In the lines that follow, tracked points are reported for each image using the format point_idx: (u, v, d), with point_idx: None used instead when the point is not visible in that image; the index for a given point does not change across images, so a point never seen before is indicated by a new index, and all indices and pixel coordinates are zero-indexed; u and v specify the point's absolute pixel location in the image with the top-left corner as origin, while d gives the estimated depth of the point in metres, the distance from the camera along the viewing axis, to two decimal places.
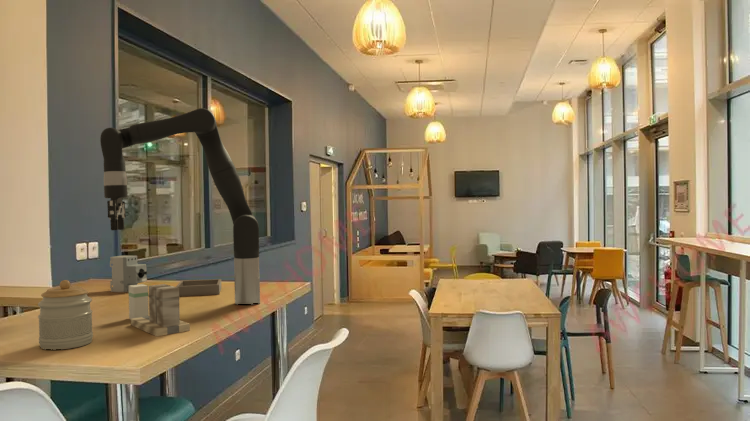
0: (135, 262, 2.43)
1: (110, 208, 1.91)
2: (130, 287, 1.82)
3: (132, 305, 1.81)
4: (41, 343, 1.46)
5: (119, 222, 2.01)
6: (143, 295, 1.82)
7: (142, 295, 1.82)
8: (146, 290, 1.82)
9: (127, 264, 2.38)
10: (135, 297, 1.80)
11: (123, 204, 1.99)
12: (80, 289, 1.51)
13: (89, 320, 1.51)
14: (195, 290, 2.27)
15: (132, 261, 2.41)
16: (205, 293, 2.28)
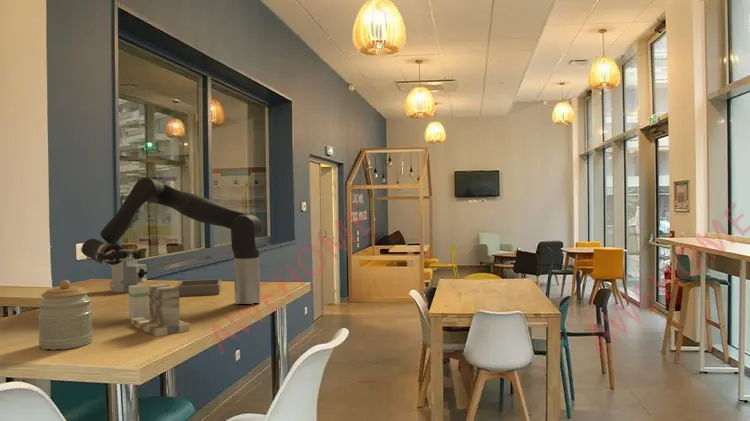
0: (135, 262, 2.43)
1: (97, 257, 1.92)
2: (130, 287, 1.82)
3: (132, 305, 1.81)
4: (41, 343, 1.46)
5: (134, 256, 1.96)
6: (143, 296, 1.82)
7: (142, 295, 1.82)
8: (146, 290, 1.83)
9: (127, 264, 2.38)
10: (135, 297, 1.80)
11: (121, 249, 1.99)
12: (80, 289, 1.51)
13: (89, 320, 1.51)
14: (195, 290, 2.27)
15: (132, 261, 2.41)
16: (205, 293, 2.28)
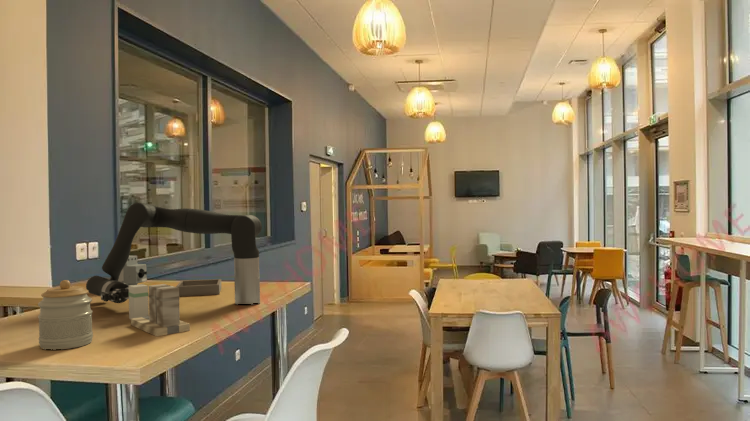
0: (135, 262, 2.43)
1: (102, 297, 1.89)
2: (130, 287, 1.82)
3: (132, 305, 1.81)
4: (41, 343, 1.46)
5: None
6: (143, 296, 1.82)
7: (142, 295, 1.82)
8: (146, 290, 1.82)
9: (127, 264, 2.38)
10: (135, 297, 1.80)
11: (126, 287, 1.96)
12: (80, 289, 1.51)
13: (89, 320, 1.51)
14: (195, 290, 2.27)
15: (132, 261, 2.41)
16: (205, 293, 2.28)
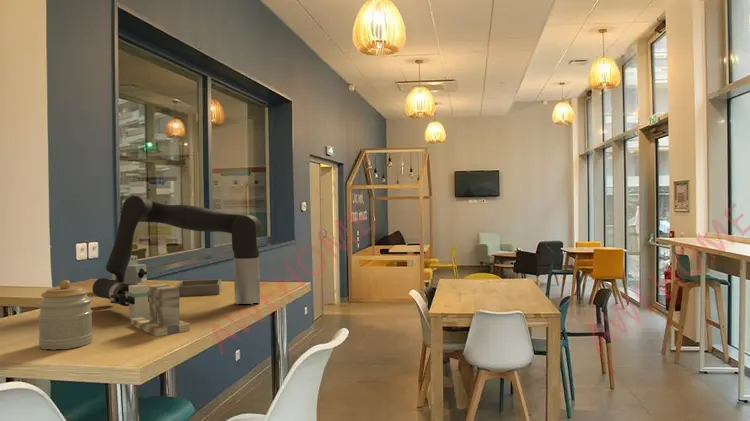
0: (135, 262, 2.43)
1: (114, 300, 1.82)
2: (130, 287, 1.82)
3: (132, 305, 1.81)
4: (41, 343, 1.46)
5: None
6: (143, 295, 1.82)
7: (142, 295, 1.82)
8: (146, 290, 1.82)
9: None
10: (135, 297, 1.80)
11: None
12: (80, 289, 1.51)
13: (89, 320, 1.51)
14: (195, 290, 2.27)
15: (132, 261, 2.41)
16: (205, 293, 2.28)
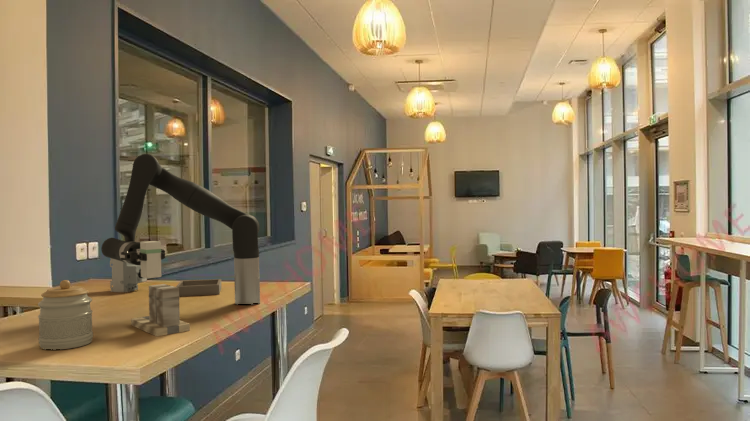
0: None
1: (125, 257, 1.73)
2: (142, 243, 1.72)
3: (144, 262, 1.71)
4: (41, 343, 1.46)
5: None
6: (155, 252, 1.72)
7: (155, 251, 1.72)
8: (159, 246, 1.73)
9: (127, 264, 2.38)
10: (147, 253, 1.70)
11: None
12: (80, 289, 1.51)
13: (89, 320, 1.51)
14: (195, 290, 2.27)
15: None
16: (205, 293, 2.28)
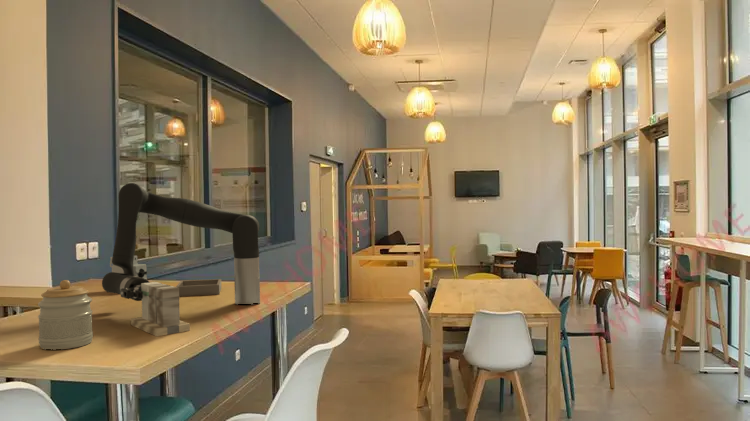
0: (135, 262, 2.43)
1: (123, 294, 1.73)
2: (143, 285, 1.73)
3: (145, 304, 1.72)
4: (41, 343, 1.46)
5: None
6: None
7: None
8: None
9: None
10: (148, 295, 1.71)
11: None
12: (80, 289, 1.51)
13: (89, 320, 1.51)
14: (195, 290, 2.27)
15: None
16: (205, 293, 2.28)
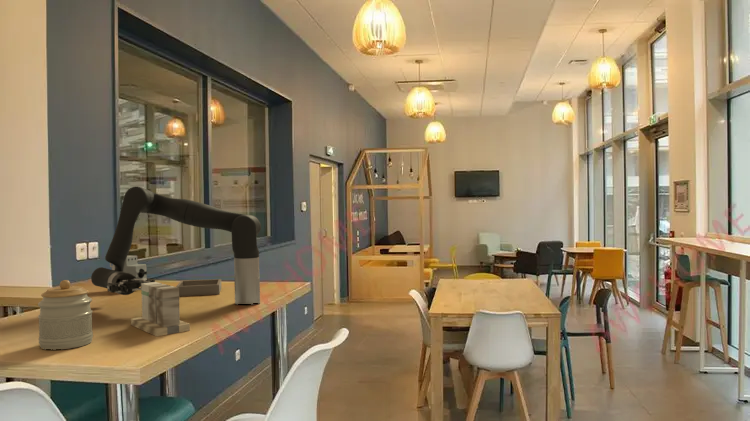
0: (135, 262, 2.43)
1: (109, 288, 1.83)
2: (143, 285, 1.73)
3: (145, 304, 1.72)
4: (41, 343, 1.46)
5: None
6: None
7: None
8: None
9: (127, 264, 2.38)
10: None
11: (134, 278, 1.90)
12: (80, 289, 1.51)
13: (89, 320, 1.51)
14: (195, 290, 2.27)
15: (132, 261, 2.41)
16: (205, 293, 2.28)
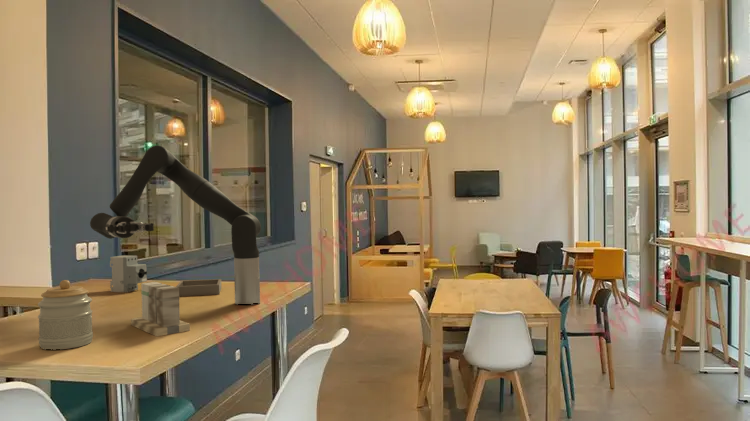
0: (135, 262, 2.43)
1: (107, 229, 1.82)
2: (143, 285, 1.73)
3: (145, 304, 1.72)
4: (41, 343, 1.46)
5: (146, 228, 1.86)
6: None
7: None
8: None
9: (127, 264, 2.38)
10: None
11: (132, 221, 1.89)
12: (80, 289, 1.51)
13: (89, 320, 1.51)
14: (195, 290, 2.27)
15: (132, 261, 2.41)
16: (205, 293, 2.28)
